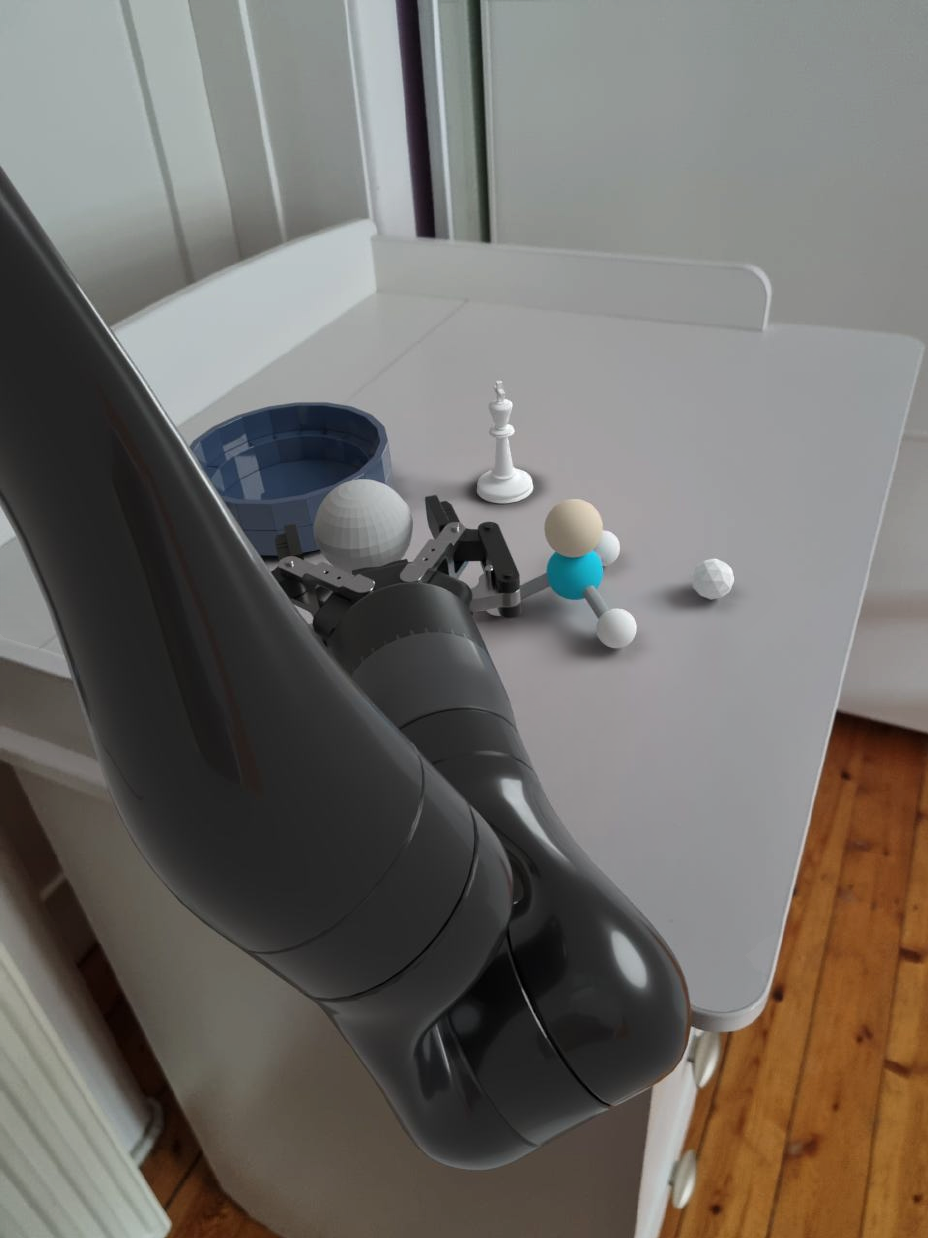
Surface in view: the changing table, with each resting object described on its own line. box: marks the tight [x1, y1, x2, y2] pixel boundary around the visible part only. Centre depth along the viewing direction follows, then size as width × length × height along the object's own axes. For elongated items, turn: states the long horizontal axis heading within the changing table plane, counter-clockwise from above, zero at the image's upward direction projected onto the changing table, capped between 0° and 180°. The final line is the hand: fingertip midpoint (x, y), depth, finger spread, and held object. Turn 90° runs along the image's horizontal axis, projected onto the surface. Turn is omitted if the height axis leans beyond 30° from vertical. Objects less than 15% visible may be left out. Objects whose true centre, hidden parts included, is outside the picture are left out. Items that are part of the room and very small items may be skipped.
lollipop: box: [314, 479, 414, 574], centre depth 60 cm, size 6×6×15 cm
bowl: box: [189, 401, 396, 557], centre depth 81 cm, size 17×17×6 cm
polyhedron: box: [690, 557, 735, 600], centre depth 68 cm, size 3×3×3 cm
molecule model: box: [484, 498, 638, 649], centre depth 66 cm, size 12×12×9 cm
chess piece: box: [476, 380, 534, 504], centre depth 79 cm, size 5×5×10 cm
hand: (362, 522), depth 57 cm, fingers open, 8 cm apart
